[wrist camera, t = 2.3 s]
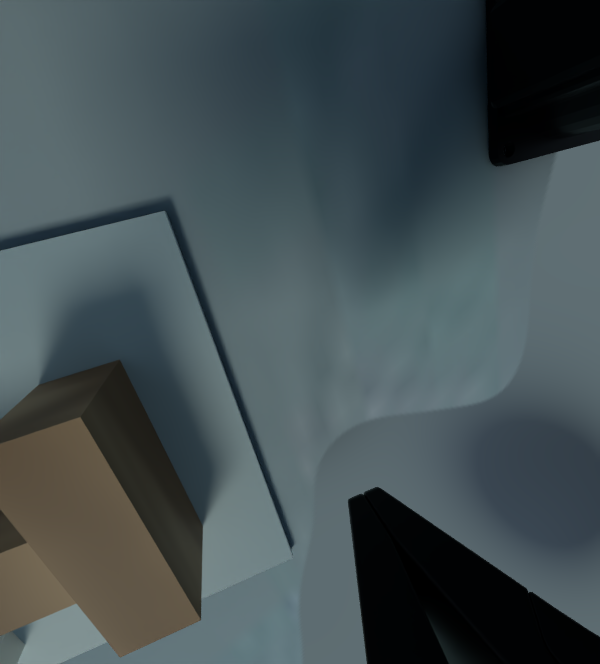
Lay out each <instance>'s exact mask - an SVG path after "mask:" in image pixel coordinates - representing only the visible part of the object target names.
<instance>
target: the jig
mask: <svg viewBox="0 0 600 664" xmlns="http://www.w3.org/2000/svg"><path fill="white" fill-rule="evenodd" d="M119 359H120V361H121V363H122V365H123V367H124V369H125V371H126V373H127V375H128V377H129V379H130V381H131V383H132V385H133V387H134V389H135V391H136V393H137V395H138V397H139V399H140V401H141V403H142V405H143V407H144V409H145V411H146V413H147V415H148V417H149V419H150V421H151V423H152V425H153V427H154V429H155V431H156V433H157V435H158V437H159V439H160V441H161V443H162V445H163V447H164V449H165V451H166V453H167V455H168V457H169V459H170V461H171V463H172V465H173V467H174V469H175V471H176V473H177V475H178V477H179V479H180V481H181V483H182V485H183V487H184V489H185V491H186V493H187V495H188V497H189V499H190V501H191V503H192V505H193V507H194V509H195V511H196V513H197V515H198V517H199V519H200V521H201V523H202V525H203V548H202V593H201V599H203V598H206V597H208V596H210V595H212V594H215V593H217V592H219V591H221V590H223V589H226V588H228V587H230V586H232V585H234V584H237V583H239V582H241V581H243V580H246V579H248V578H250V577H252V576H254V575H257V574H259V573H261V572H263V571H266V570H268V569H270V568H272V567H274V566H277V565H279V564H281V563H283V562H285V561H288V560H290V559H292V558H293V554H292V551H291V548H290V545H289V542H288V540H287V537H286V534H285V531H284V529H283V526H282V523H281V521H280V518H279V515H278V512H277V510H276V507H275V504H274V502H273V499H272V496H271V494H270V491H269V488H268V485H267V483H266V480H265V477H264V475H263V472H262V469H261V466H260V464H259V461H258V458H257V456H256V453H255V450H254V447H253V445H252V442H251V439H250V437H249V434H248V431H247V428H246V426H245V423H244V420H243V418H242V415H241V412H240V410H239V407H238V404H237V401H236V399H235V396H234V393H233V391H232V388H231V385H230V382H229V380H228V377H227V374H226V372H225V369H224V366H223V363H222V361H221V358H220V355H219V353H218V350H217V347H216V344H215V342H214V339H213V336H212V334H211V331H210V328H209V325H208V323H207V320H206V317H205V315H204V312H203V309H202V307H201V304H200V301H199V298H198V296H197V293H196V290H195V288H194V285H193V282H192V279H191V277H190V274H189V271H188V269H187V266H186V263H185V260H184V258H183V255H182V252H181V250H180V247H179V244H178V241H177V239H176V236H175V233H174V231H173V228H172V225H171V222H170V220H169V217H168V214H167V212H166V211H161V212H157V213H153V214H149V215H145V216H141V217H137V218H133V219H129V220H124V221H120V222H116V223H112V224H108V225H104V226H100V227H96V228H92V229H88V230H83V231H79V232H75V233H71V234H67V235H63V236H59V237H55V238H51V239H46V240H42V241H38V242H34V243H30V244H26V245H22V246H18V247H14V248H9V249H5V250H1V251H0V419H2V418H3V417H4V416H5V415H6V414H7V413H8V412H9V411H10V410H11V409H12V408H14V407H15V406H16V405H17V404H18V403H19V402H20V401H21V400H22V399H23V398H25V397H26V396H27V395H28V394H29V393H30V392H31V391H32V390H33V389H34V388H35V387H37V386H38V385H39V384H43V383H46V382H49V381H52V380H55V379H59V378H62V377H65V376H68V375H71V374H75V373H78V372H81V371H84V370H87V369H91V368H94V367H97V366H100V365H103V364H107V363H110V362H113V361H116V360H119ZM106 642H107V641H106V640H105V638H104V637H103V636H102V635H101V633H100V632H99V631H98V630H97V628H96V627H95V626H94V625H93V623H92V622H91V621H90V620H89V619H88V617H87V616H86V615H85V614H84V612H83V611H82V610H81V609H80V607H79V606H78V605H77V604H74V605H72V606H70V607H67V608H65V609H62V610H60V611H58V612H55V613H53V614H51V615H48V616H46V617H44V618H41V619H39V620H37V621H34V622H32V623H30V624H27V625H25V626H23V627H20V628H18V629H15V630H13V631H11V632H8V633H6V634H4V635H1V636H0V664H59V663H62V662H64V661H66V660H68V659H70V658H73V657H75V656H77V655H79V654H82V653H84V652H86V651H88V650H90V649H93V648H95V647H97V646H99V645H101V644H104V643H106Z"/></svg>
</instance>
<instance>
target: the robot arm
mask: <svg viewBox="0 0 600 664" xmlns="http://www.w3.org/2000/svg"><path fill="white" fill-rule="evenodd" d="M486 28H487V79H488V129H489V158H490V161H491V163H492V164H493V165H494V166H505V165H509V164H513V163H517V162H521V161H524V160H528V159H532V158H536V157H539V156H543V155H547V154H551V153H554V152H558V151H562V150H565V149H569V148H573V147H577V146H581V145H584V144H588V143H592V142H596V141H599V140H600V0H486ZM504 146H505V149H506V152H505V155H504V152H503V150H504ZM348 507H349V514H350V524H351V532H352V541H353V549H354V557H355V566H356V574H357V583H358V592H359V600H360V608H361V617H362V626H363V634H364V642H365V651H366V660H367V664H600V637H599V636H598V635H596V634H594V633H593V632H591V631H589V630H588V629H586V628H585V627H583V626H582V625H580V624H579V623H577V622H576V621H574V620H573V619H571V618H570V617H568V616H567V615H565V614H564V613H562V612H561V611H559V610H558V609H556V608H554V607H553V606H552V605H550V604H549V603H547V602H546V601H544V600H543V599H541V598H540V597H539V596H537V595H536V594H534V593H533V592H529V593H528V590H527V589H526V588H525V587H524V586H522V585H521V584H519V583H518V582H516V581H515V580H514V579H512V578H511V577H509V576H508V575H506V574H505V573H503V572H502V571H500V570H499V569H498V568H496V567H495V566H493V565H492V564H490V563H489V562H487V561H486V560H484V559H483V558H481V557H480V556H479V555H477V554H476V553H474V552H473V551H471V550H470V549H468V548H467V547H465V546H464V545H463V544H461V543H460V542H458V541H457V540H455V539H454V538H452V537H451V536H449V535H448V534H447V533H445V532H443V531H442V530H441V529H439V528H438V527H436V526H434V525H433V524H432V523H430V522H429V521H428V520H426V519H425V518H423V517H422V516H420V515H419V514H417V513H416V512H414V511H413V510H412V509H410V508H408V507H407V506H406V505H404V504H403V503H401V502H400V501H398V500H397V499H396V498H394V497H392V496H391V495H390V494H388V493H387V492H385V491H384V490H382V489H381V488H379V487H375V488H373V489H370V490H368V491H366V492H364V495H363V494H359V495H357V496H354V497H352V498H350V499H349V500H348Z"/></svg>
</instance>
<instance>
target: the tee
mask: <svg viewBox="0 0 600 664" xmlns="http://www.w3.org/2000/svg"><path fill="white" fill-rule="evenodd" d="M202 548H203V525H202V523H201V521H200V519H199V517H198V515H197V513H196V511H195V509H194V507H193V505H192V503H191V501H190V499H189V497H188V495H187V493H186V491H185V489H184V487H183V485H182V483H181V481H180V479H179V477H178V475H177V473H176V471H175V469H174V467H173V465H172V463H171V461H170V459H169V457H168V455H167V453H166V451H165V449H164V447H163V445H162V443H161V441H160V439H159V437H158V435H157V433H156V431H155V429H154V427H153V425H152V423H151V421H150V419H149V417H148V415H147V413H146V411H145V409H144V407H143V405H142V403H141V401H140V399H139V397H138V395H137V393H136V391H135V389H134V387H133V385H132V383H131V381H130V379H129V377H128V375H127V373H126V371H125V369H124V367H123V365H122V363H121V361H120V359H119V360H116V361H113V362H110V363H107V364H103V365H100V366H97V367H94V368H91V369H87V370H84V371H81V372H78V373H75V374H71V375H68V376H65V377H62V378H59V379H55V380H52V381H49V382H46V383H43V384H39V385H38V386H37V387H35V388H34V389H33V390H32V391H31V392H30V393H29V394H28V395H27V396H26V397H25V398H23V399H22V400H21V401H20V402H19V403H18V404H17V405H16V406H15V407H14V408H12V409H11V410H10V411H9V412H8V413H7V414H6V415H5V416H4V417H3V418H2V419H0V636H1V635H4V634H6V633H8V632H11V631H13V630H15V629H18V628H20V627H23V626H25V625H27V624H30V623H32V622H34V621H37V620H39V619H41V618H44V617H46V616H48V615H51V614H53V613H55V612H58V611H60V610H62V609H65V608H67V607H70V606H72V605H74V604H77V605H78V606H79V607H80V609H81V610H82V611H83V612H84V614H85V615H86V616H87V617H88V619H89V620H90V621H91V622H92V623H93V625H94V626H95V627H96V628H97V630H98V631H99V632H100V633H101V635H102V636H103V637H104V638H105V640H106V641H107V642H108V643H109V645H110V646H111V647H112V648H113V649H114V651H115V652H116V653H117V654H118V656H119V657H122V656H124V655H127V654H129V653H131V652H133V651H135V650H137V649H140V648H142V647H144V646H146V645H148V644H150V643H153V642H155V641H157V640H159V639H161V638H163V637H166V636H168V635H170V634H172V633H174V632H176V631H179V630H181V629H183V628H185V627H187V626H189V625H192V624H194V623H196V622H198V621H200V620H201V593H202Z"/></svg>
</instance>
